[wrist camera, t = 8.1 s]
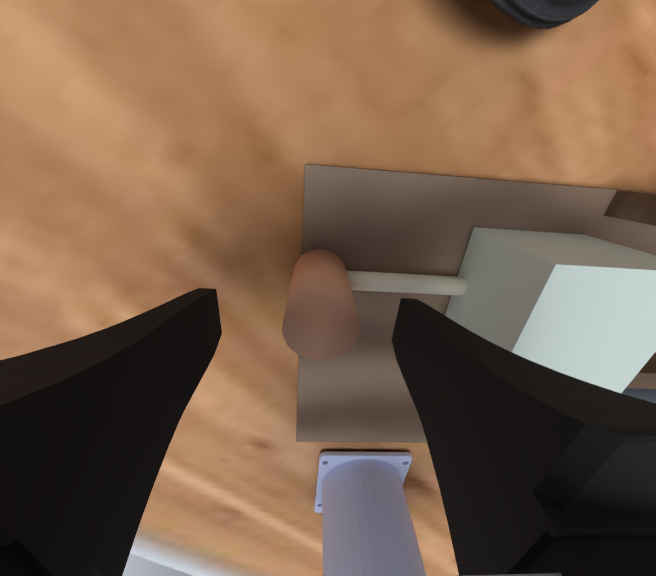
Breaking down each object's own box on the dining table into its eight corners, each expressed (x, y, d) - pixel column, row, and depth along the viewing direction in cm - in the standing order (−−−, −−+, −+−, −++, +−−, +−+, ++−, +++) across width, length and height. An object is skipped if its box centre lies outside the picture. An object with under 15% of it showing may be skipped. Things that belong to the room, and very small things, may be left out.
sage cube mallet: (534, 329, 16) (618, 396, 12) (292, 320, 15) (282, 389, 11) (585, 234, 13) (719, 274, 9) (294, 215, 12) (281, 248, 8)
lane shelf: (615, 435, 23) (659, 476, 20) (296, 431, 21) (293, 476, 18) (822, 206, 14) (955, 219, 11) (305, 164, 12) (302, 166, 9)
